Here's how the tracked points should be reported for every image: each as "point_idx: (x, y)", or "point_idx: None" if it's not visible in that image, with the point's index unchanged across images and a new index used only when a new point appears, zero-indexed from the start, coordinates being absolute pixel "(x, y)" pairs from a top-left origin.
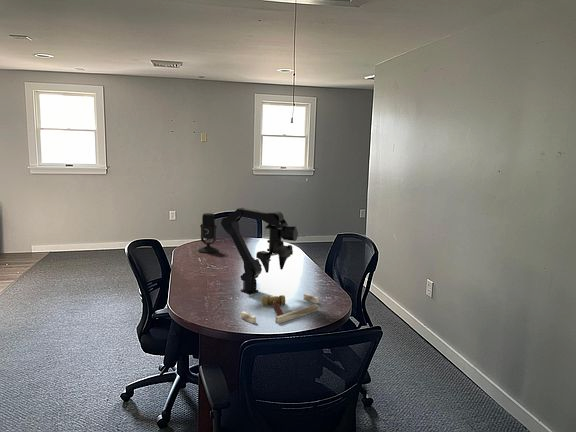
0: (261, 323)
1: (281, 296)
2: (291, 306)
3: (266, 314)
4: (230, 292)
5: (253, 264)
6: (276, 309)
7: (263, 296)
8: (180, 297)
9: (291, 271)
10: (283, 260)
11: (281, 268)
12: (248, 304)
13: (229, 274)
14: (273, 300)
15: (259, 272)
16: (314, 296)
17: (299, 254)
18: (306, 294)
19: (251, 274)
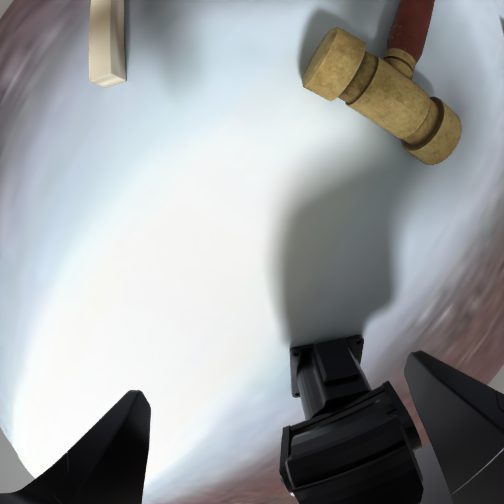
0: (492, 14)
1: (358, 48)
2: (291, 13)
3: (458, 41)
4: (394, 376)
5: (415, 480)
6: (433, 4)
7: (457, 137)
8: (494, 366)
9: (44, 425)
10: (83, 500)
11: (140, 405)
12: (459, 199)
13: (250, 485)
14: (408, 75)
15: (323, 439)
16: (91, 11)
17: (21, 457)
18: (101, 59)
19: (407, 412)
